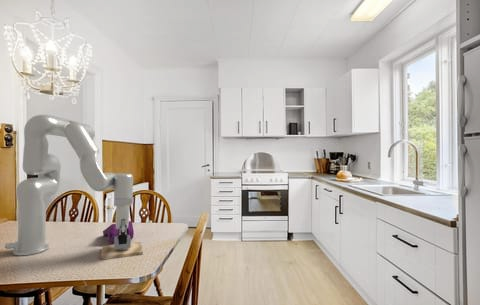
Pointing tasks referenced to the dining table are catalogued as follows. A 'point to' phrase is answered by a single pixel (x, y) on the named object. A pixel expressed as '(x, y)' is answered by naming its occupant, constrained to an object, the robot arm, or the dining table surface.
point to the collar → (121, 246)
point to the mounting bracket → (112, 232)
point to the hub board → (121, 251)
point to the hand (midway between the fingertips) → (122, 240)
